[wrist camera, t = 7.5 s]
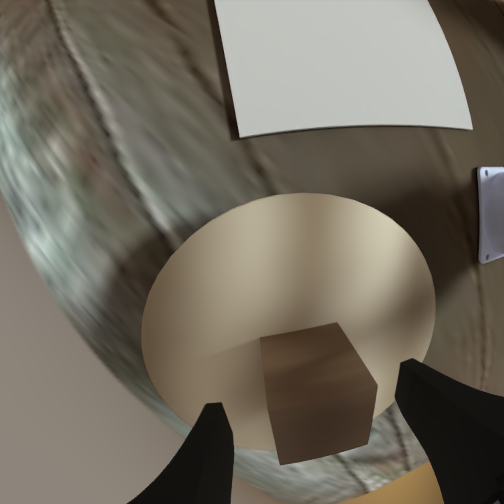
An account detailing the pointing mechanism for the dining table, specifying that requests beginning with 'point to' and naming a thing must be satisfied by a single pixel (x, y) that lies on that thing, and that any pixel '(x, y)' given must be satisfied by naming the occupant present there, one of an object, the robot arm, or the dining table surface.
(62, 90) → the dining table surface
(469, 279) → the dining table surface
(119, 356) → the dining table surface
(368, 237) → the lid
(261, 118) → the mat
